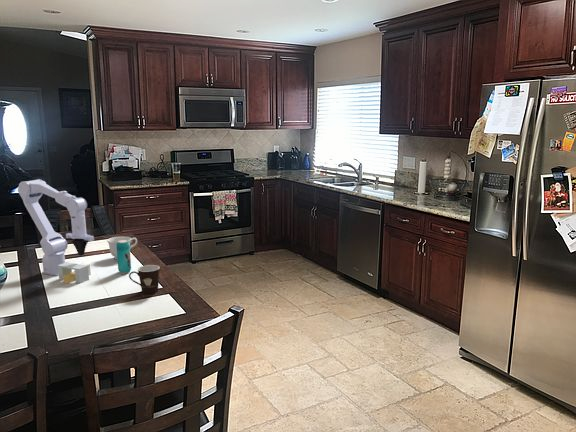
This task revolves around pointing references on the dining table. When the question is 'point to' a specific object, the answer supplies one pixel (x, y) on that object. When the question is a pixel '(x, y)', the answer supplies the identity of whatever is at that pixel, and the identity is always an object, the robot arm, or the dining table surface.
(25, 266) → the dining table surface
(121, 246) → the beverage can
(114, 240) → the teacup
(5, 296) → the dining table surface
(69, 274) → the plug
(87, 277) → the housing
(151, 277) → the coffee mug
